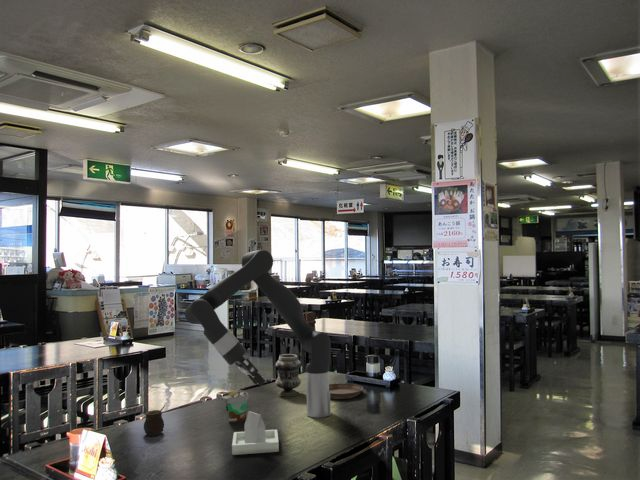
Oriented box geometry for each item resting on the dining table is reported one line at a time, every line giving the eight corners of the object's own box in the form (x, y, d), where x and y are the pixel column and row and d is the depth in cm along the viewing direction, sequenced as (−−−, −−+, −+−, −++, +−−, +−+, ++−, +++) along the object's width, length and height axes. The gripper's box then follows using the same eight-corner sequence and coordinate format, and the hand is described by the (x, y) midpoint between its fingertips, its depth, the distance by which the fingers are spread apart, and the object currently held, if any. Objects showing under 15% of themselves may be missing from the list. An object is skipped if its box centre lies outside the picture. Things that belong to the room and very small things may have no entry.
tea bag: (256, 447, 167) (256, 416, 168) (244, 442, 172) (244, 412, 172) (265, 444, 170) (265, 413, 170) (253, 439, 175) (253, 410, 175)
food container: (242, 424, 194) (242, 398, 195) (227, 424, 196) (227, 397, 196) (253, 415, 206) (252, 390, 207) (239, 414, 208) (238, 389, 208)
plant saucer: (321, 389, 247) (321, 382, 247) (364, 389, 244) (364, 382, 244) (315, 400, 226) (315, 393, 226) (362, 401, 224) (361, 393, 224)
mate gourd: (142, 432, 188) (142, 405, 188) (163, 429, 191) (163, 402, 192) (144, 438, 181) (144, 410, 182) (166, 435, 184) (165, 407, 185)
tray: (277, 438, 178) (277, 429, 178) (278, 451, 165) (278, 442, 166) (234, 441, 176) (233, 432, 177) (232, 454, 164) (232, 445, 164)
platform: (259, 405, 222) (259, 389, 223) (225, 414, 210) (225, 398, 210) (243, 400, 231) (243, 385, 231) (209, 409, 218) (209, 393, 219)
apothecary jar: (300, 397, 232) (299, 357, 233) (274, 397, 232) (273, 358, 233) (301, 390, 244) (301, 352, 245) (277, 391, 244) (276, 353, 245)
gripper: (241, 339, 168) (273, 376, 169) (234, 340, 181) (263, 374, 182) (224, 355, 165) (256, 392, 166) (218, 355, 178) (248, 389, 179)
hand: (260, 383), depth 174 cm, fingers open, 8 cm apart
